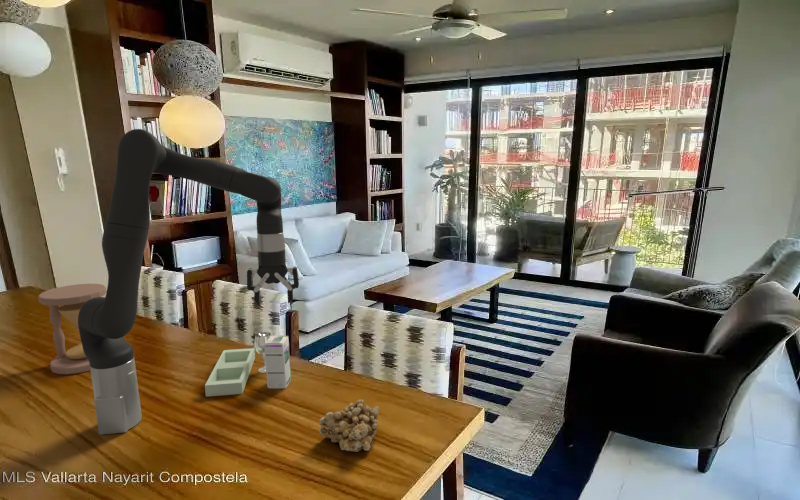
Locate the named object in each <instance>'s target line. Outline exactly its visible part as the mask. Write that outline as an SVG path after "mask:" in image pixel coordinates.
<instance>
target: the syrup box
mask: <svg viewBox="0 0 800 500" xmlns="http://www.w3.org/2000/svg"><path fill="white" fill-rule="evenodd" d="M289 341H290V340H289V335H280V334H279V335H271V336H270V338H269V339H268V340H267V341H266V342H265V343H264V349H265V362H266V373H265V374H266V386H267V388H268V389H276V390H277V389H280V390H281V389H287V387H288V386H289V384H290V383H291V380H292V370H291V369H292V367H291V354H290V353H291V352H290V342H289Z"/></svg>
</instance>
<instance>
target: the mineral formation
mask: <svg viewBox="0 0 800 500" xmlns="http://www.w3.org/2000/svg"><path fill="white" fill-rule="evenodd" d="M379 411H380V407H379V406H377V405H376V406H374V407H370V406H369V405H368V404H364V399H358V400H357V401H356V402H355V403H354V402H350V403H349V404H348V405H346V406H345V407H344V408H343V410H340V411H335V412H332V411H329V412H327V413H326V414H325V416H322V417H321V418H319V426H320V428H319V429H318V434H319V436H321V437H326V438H327V439H330V440H331V441H330V442H331V443H339V448H340V450H342V451H347V452H348V451H349V452H355V453H357V452H360V451H361V450H362V449H363V450H364V451H369V450H370V449H371V443H372V441H373V438H374V437H375V436H376V435H377V428H378V424H379V423H378V422H379V421H378V416H379Z"/></svg>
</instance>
